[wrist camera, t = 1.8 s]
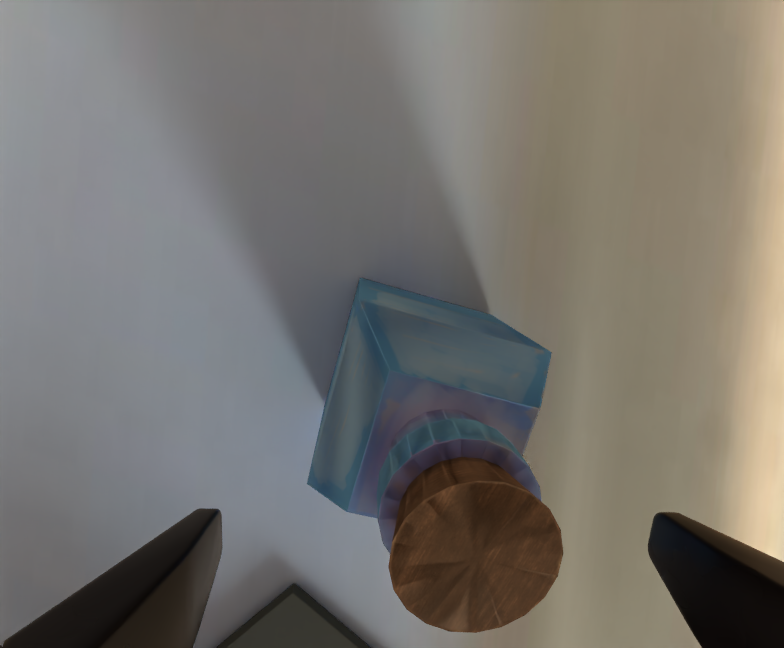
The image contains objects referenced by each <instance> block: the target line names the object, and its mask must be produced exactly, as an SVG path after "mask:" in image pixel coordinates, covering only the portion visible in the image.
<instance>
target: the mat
mask: <svg viewBox="0 0 784 648" xmlns="http://www.w3.org/2000/svg"><path fill="white" fill-rule="evenodd" d="M217 648H370V647H369V646H368V645H367V644H366V643H364V642H363V641H362V640H361V639H360V638H359V637H357V636H356V635H355V634H354V633H353V632H351V631H350V630H349V629H348V628H347V627H346V626H344V625H343V624H342V623H341V622H340V621H338V620H337V619H336V618H335V617H334V616H333V615H331V614H330V613H329V612H328V611H327V610H325V609H324V608H323V607H322V606H321V605H320V604H318V603H317V602H316V601H315V600H314V599H312V598H311V597H310V596H309V595H308V594H307V593H305V592H304V591H303V590H302V589H301V588H299V587H298V586H297V585H296V584H293V585H292V586H290V587H289V588H288V589H287V590H285V591H284V592H283V593H282V594H281V595H279V596H278V597H277V598H276V599H275V600H273V601H272V602H271V603H270V604H269V605H267V606H266V607H265V608H264V609H263V610H261V611H260V612H259V613H258V614H256V615H255V616H254V617H253V618H252V619H250V620H249V621H248V622H247V623H246V624H244V625H243V626H242V627H241V628H240V629H238V630H237V631H236V632H235V633H233V634H232V635H231V636H230V637H229V638H227V639H226V640H225V641H224V642H223V643H221V644H220V645H219V646H218V647H217Z"/></svg>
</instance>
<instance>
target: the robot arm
mask: <svg viewBox="0 0 784 648" xmlns="http://www.w3.org/2000/svg"><path fill="white" fill-rule="evenodd" d="M648 552H649V556H650V558H651V560H652V562H653V564H654V566H655V567H656V569H657V571H658V573H659V575H660V576H661V578H662V580H663V582H664V583H665V585H666V587H667V589H668V590H669V592H670V594H671V596H672V598H673V599H674V601H675V603H676V605H677V606H678V608H679V610H680V612H681V613H682V615H683V617H684V619H685V621H686V622H687V624H688V626H689V627H690V629H691V631H692V632H693V634H694V636H695V637H696V639H697V640H698V642H699V644H700V645H701V647H702V648H784V562H782V561H780V560H778V559H776V558H774V557H772V556H769V555H767V554H765V553H763V552H761V551H759V550H757V549H754V548H752V547H750V546H748V545H746V544H744V543H742V542H739V541H737V540H735V539H733V538H731V537H729V536H727V535H725V534H722V533H720V532H718V531H716V530H714V529H712V528H710V527H707V526H705V525H703V524H701V523H699V522H697V521H695V520H692V519H690V518H688V517H686V516H684V515H682V514H679V513H675V512H659V513H657V514H656V515H655V516H654V519H653V523H652V528H651V533H650V537H649V542H648ZM221 554H222V516H221V512H220V510H219V509H203V508H202V509H197V510H196V511H194V512H192V513H191V514H190V515H188V516H187V517H185V518H184V519H182V520H181V521H179V522H178V523H176V524H175V525H173V526H172V527H171V528H169V529H168V530H166V531H165V532H163V533H162V534H160V535H159V536H157V537H156V538H154V539H153V540H151V541H150V542H149V543H147V544H146V545H144V546H143V547H141V548H140V549H138V550H137V551H135V552H134V553H132V554H131V555H130V556H128V557H127V558H125V559H124V560H122V561H121V562H119V563H118V564H116V565H115V566H113V567H112V568H111V569H109V570H108V571H106V572H105V573H103V574H102V575H100V576H99V577H97V578H96V579H94V580H93V581H92V582H90V583H89V584H87V585H86V586H84V587H83V588H81V589H80V590H78V591H77V592H75V593H74V594H72V595H71V596H70V597H68V598H67V599H65V600H64V601H62V602H61V603H59V604H58V605H56V606H55V607H53V608H52V609H51V610H49V611H48V612H46V613H45V614H43V615H42V616H40V617H39V618H37V619H36V620H34V621H33V622H32V623H30V624H29V625H27V626H26V627H24V628H23V629H21V630H20V631H18V632H17V633H15V634H14V635H12V636H11V637H10V638H8V639H7V640H5V641H4V643H3V647H2V646H1V645H0V648H193V646H194V643H195V640H196V637H197V634H198V631H199V627H200V624H201V621H202V618H203V614H204V611H205V608H206V604H207V601H208V598H209V595H210V591H211V588H212V585H213V581H214V578H215V575H216V572H217V568H218V565H219V562H220V558H221Z"/></svg>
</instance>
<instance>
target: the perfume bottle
mask: <svg viewBox="0 0 784 648" xmlns="http://www.w3.org/2000/svg"><path fill="white" fill-rule="evenodd" d="M551 353H552V352H550V351H548V350H547V349H545V348H544V347H542V346H540V345H539V344H537V343H536V342H534V341H532V340H531V339H529V338H528V337H526V336H524V335H523V334H521V333H520V332H518V331H516V330H515V329H513V328H512V327H510V326H508V325H507V324H505V323H504V322H502V321H500V320H499V319H497V318H496V317H494V316H492V315H490V314H487V313H483V312H479V311H476V310H472V309H469V308H465V307H462V306H458V305H455V304H451V303H448V302H444V301H441V300H437V299H434V298H430V297H427V296H423V295H420V294H416V293H413V292H409V291H406V290H402V289H399V288H395V287H392V286H388V285H385V284H381V283H378V282H374V281H371V280H367V279H363V278H360V280H359V283H358V287H357V291H356V294H355V298H354V301H353V305H352V309H351V312H350V316H349V319H348V323H347V327H346V330H345V334H344V338H343V341H342V345H341V348H340V352H339V356H338V359H337V363H336V366H335V370H334V374H333V377H332V381H331V384H330V388H329V392H328V395H327V399H326V403H325V406H324V411H323V415H322V420H321V424H320V428H319V433H318V437H317V442H316V446H315V451H314V455H313V460H312V464H311V469H310V473H309V478H308V482H307V484H308V485H310V486H311V487H312V488H314V489H315V490H317V491H318V492H319V493H321V494H322V495H324V496H325V497H326V498H328V499H329V500H331V501H332V502H334V503H335V504H336V505H338V506H339V507H341V508H342V509H343V510H345V511H346V512H350V513H355V514H359V515H364V516H369V517H373V518H378V523H379V528H380V532H381V536H382V541H383V544H384V545H385V547H386V548H387V550H388V552H389V553H390V560H389V571H390V576H391V580H392V585H393V589H394V591H395V593H396V594H397V596H398V597H399V599H400V600H401V602H402V603H403V605H404V606H405V608H406V609H407V610H408V611H410V612H411V613H412V614H414V615H415V616H416V617H418V618H419V619H421V620H422V621H423V622H425V623H426V624H429V625H432V626H435V627H438V628H441V629H444V630H447V631H450V632H474V633H476V632H481V631H485V630H490V629H494V628H499V627H502V626H504V625H506V624H508V623H510V622H512V621H514V620H516V619H518V618H520V617H522V616H524V615H526V614H527V613H528V612H529V611H530V610H531V609H532V608H533V607H535V606H536V605H537V604H538V603H539V602H540V601H541V600H542V599H543V598H544V597H545V596H546V594H547V593H548V591H549V589H550V588H551V586H552V585H553V583H554V581H555V580H556V578H557V577H558V573H559V568H560V564H561V560H562V556H563V547H562V538H561V530H560V528H559V526H558V524H557V522H556V520H555V518H554V516H553V515H552V513H551V511H550V509H549V508H548V507H547V506H546V505H544V504H543V503H542V501H541V493H540V486H539V484H538V483H537V481H536V479H535V477H534V475H533V473H532V471H531V469H530V467H529V466H528V464H527V463H526V461H525V460H524V459H523V457H522V455H523V453H524V450H525V447H526V445H527V442H528V440H529V437H530V434H531V432H532V429H533V427H534V424H535V421H536V419H537V416H538V414H539V411H540V408H541V403H542V398H543V393H544V388H545V383H546V378H547V373H548V368H549V363H550V358H551Z"/></svg>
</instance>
